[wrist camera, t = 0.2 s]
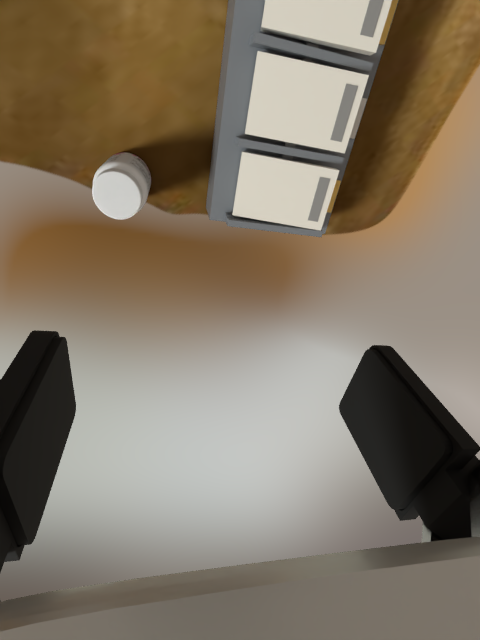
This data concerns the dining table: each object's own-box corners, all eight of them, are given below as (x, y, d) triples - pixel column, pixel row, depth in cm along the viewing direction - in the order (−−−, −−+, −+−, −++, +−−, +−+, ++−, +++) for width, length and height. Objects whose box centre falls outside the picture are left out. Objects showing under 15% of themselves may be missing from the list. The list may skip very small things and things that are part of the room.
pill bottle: (105, 197, 35) (88, 220, 28) (103, 148, 32) (83, 161, 25) (151, 202, 36) (145, 227, 29) (152, 156, 33) (145, 170, 26)
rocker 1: (256, 54, 26) (257, 50, 25) (362, 77, 27) (369, 75, 25) (244, 132, 29) (244, 133, 28) (340, 151, 30) (344, 153, 28)
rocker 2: (242, 150, 30) (242, 151, 28) (335, 168, 30) (339, 170, 29) (232, 210, 33) (232, 215, 31) (317, 226, 33) (320, 230, 32)
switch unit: (236, -77, 25) (255, -133, 19) (380, -28, 28) (435, -63, 22) (206, 206, 37) (211, 227, 31) (309, 220, 40) (333, 241, 34)
